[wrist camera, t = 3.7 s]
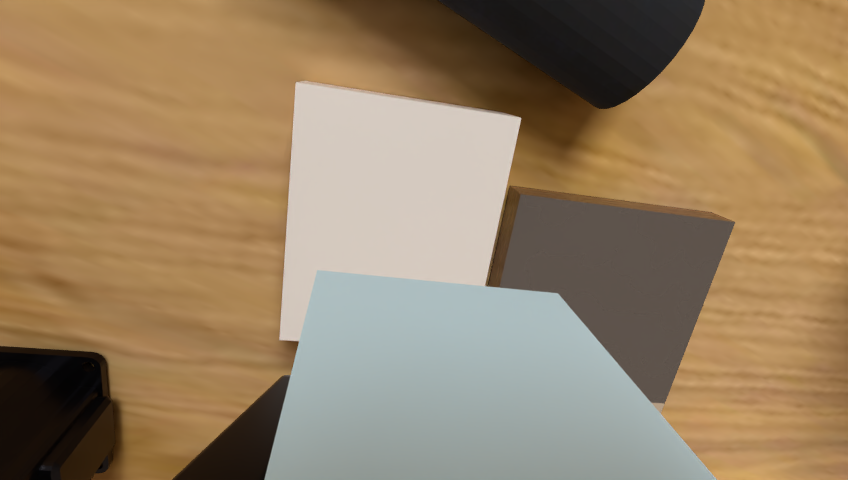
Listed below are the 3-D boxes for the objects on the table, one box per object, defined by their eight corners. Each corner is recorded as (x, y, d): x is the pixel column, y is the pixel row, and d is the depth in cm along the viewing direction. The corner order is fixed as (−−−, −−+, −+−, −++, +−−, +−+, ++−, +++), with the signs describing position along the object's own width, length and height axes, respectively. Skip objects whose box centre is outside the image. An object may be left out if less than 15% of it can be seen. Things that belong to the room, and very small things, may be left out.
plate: (435, 523, 27) (439, 548, 25) (510, 185, 20) (520, 194, 19) (596, 525, 28) (608, 549, 27) (711, 212, 22) (735, 222, 21)
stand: (289, 310, 21) (279, 340, 19) (305, 80, 18) (295, 82, 16) (459, 324, 22) (470, 353, 20) (502, 112, 19) (521, 117, 17)
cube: (299, 469, 10) (246, 780, 5) (317, 270, 8) (263, 483, 4) (507, 475, 10) (602, 754, 6) (557, 293, 9) (730, 494, 5)
